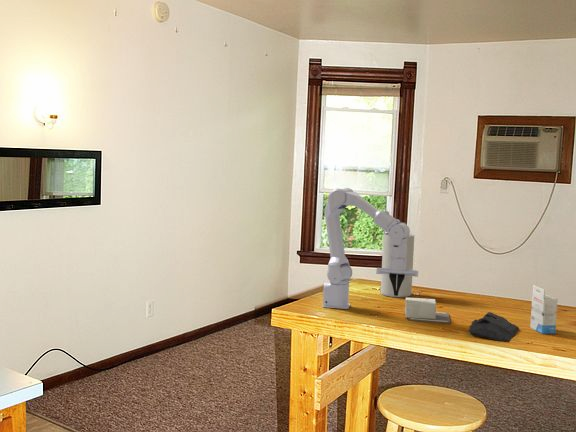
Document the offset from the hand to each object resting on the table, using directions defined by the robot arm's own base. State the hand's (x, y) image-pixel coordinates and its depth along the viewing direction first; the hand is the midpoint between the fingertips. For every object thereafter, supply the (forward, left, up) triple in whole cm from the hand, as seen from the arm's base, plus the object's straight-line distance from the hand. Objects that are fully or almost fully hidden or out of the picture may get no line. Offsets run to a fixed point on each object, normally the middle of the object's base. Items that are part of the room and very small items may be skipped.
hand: (396, 295), depth 228 cm
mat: (+12, +1, -7) cm, 14 cm away
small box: (+3, 0, -4) cm, 5 cm away
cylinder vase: (-1, +37, -8) cm, 38 cm away
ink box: (+49, -5, -8) cm, 50 cm away
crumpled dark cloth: (+32, -12, -8) cm, 35 cm away
